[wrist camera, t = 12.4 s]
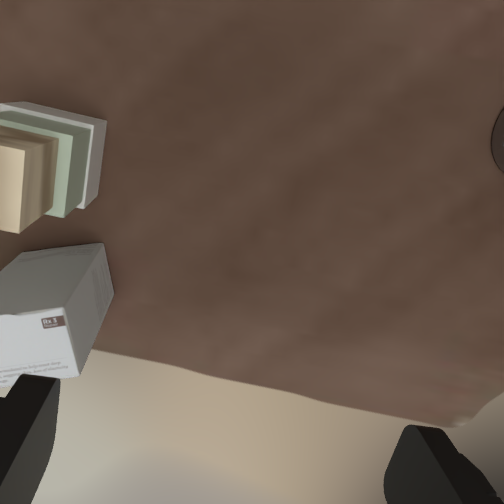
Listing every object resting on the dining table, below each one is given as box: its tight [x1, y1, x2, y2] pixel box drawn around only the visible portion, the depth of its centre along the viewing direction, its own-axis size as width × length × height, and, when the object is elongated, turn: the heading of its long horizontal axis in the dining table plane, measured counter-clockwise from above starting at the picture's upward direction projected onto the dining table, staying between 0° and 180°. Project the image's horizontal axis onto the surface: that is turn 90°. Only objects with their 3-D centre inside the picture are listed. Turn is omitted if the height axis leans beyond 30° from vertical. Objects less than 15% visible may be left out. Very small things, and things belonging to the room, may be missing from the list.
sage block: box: [0, 110, 91, 218], centre depth 33 cm, size 6×6×5 cm
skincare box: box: [0, 243, 114, 388], centre depth 37 cm, size 8×6×15 cm
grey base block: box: [0, 101, 107, 209], centre depth 38 cm, size 7×7×5 cm
